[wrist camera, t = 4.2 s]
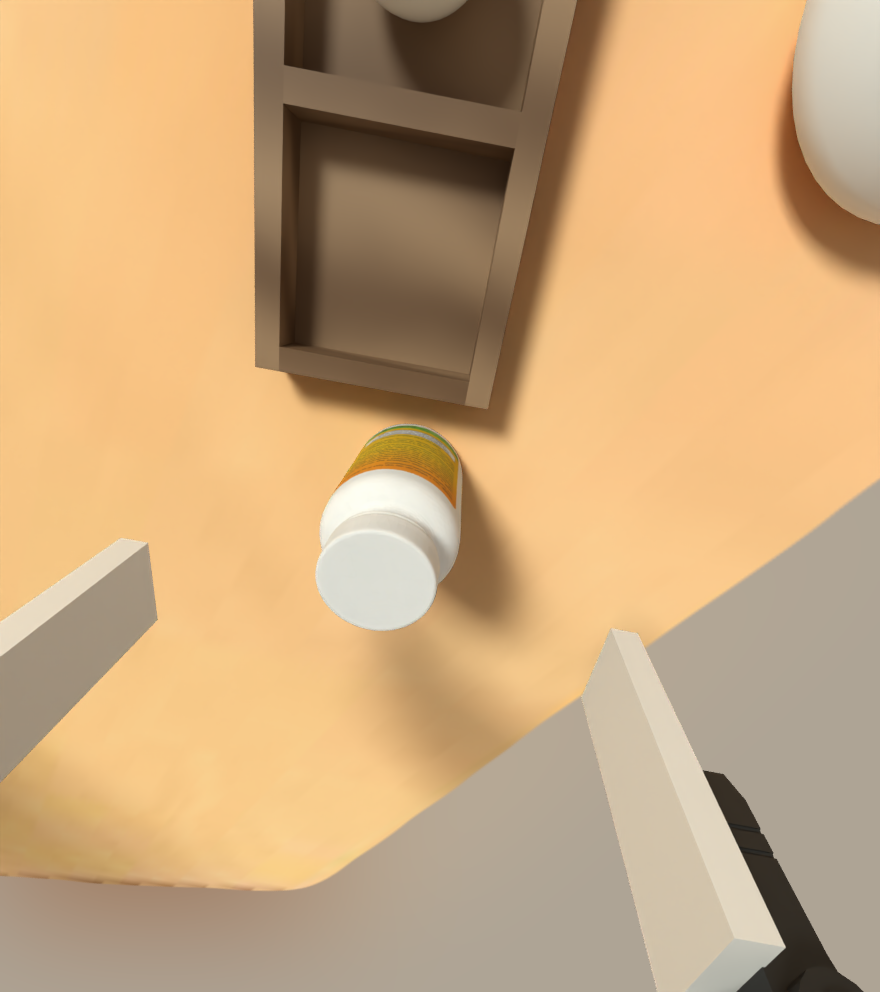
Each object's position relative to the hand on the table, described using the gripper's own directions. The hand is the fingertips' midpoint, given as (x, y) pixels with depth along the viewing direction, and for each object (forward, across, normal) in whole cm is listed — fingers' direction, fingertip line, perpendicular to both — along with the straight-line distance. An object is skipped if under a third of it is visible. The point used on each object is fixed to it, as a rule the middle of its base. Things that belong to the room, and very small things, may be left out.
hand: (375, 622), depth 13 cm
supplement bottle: (+12, 0, 0) cm, 12 cm away
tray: (+11, +2, -14) cm, 18 cm away
